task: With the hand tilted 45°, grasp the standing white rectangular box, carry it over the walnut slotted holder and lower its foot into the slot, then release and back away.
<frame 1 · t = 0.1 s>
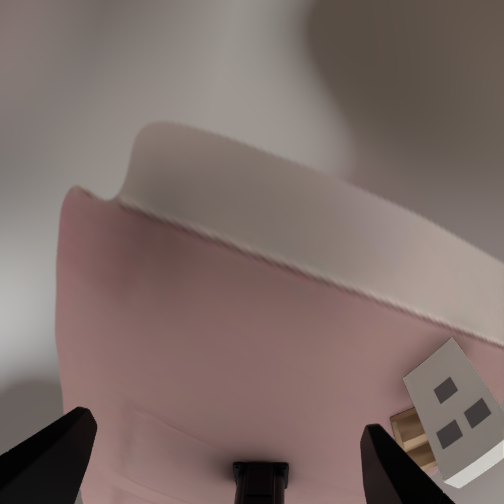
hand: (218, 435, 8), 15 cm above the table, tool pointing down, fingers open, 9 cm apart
slot holder: (431, 423, 27), on the table
white rectangular box: (435, 367, 25), on the table
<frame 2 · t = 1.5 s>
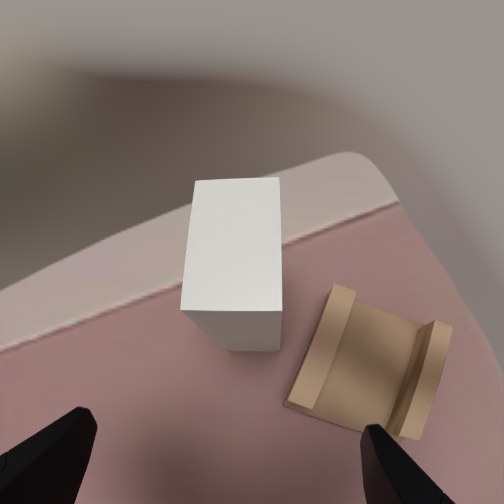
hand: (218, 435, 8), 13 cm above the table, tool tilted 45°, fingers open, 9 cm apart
slot holder: (364, 369, 21), on the table
white rectangular box: (254, 312, 24), on the table
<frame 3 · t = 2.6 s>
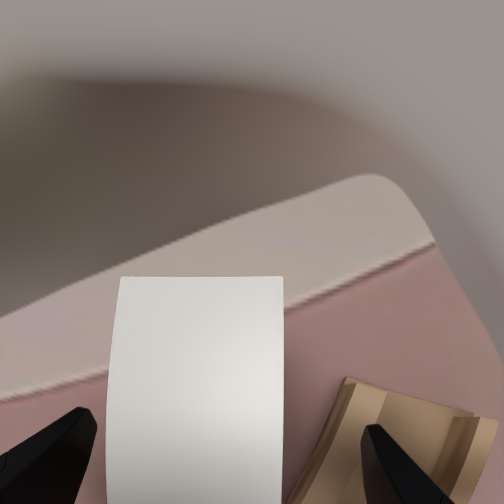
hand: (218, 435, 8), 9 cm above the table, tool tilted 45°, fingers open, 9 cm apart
slot holder: (384, 467, 14), on the table
white rectangular box: (245, 402, 16), on the table
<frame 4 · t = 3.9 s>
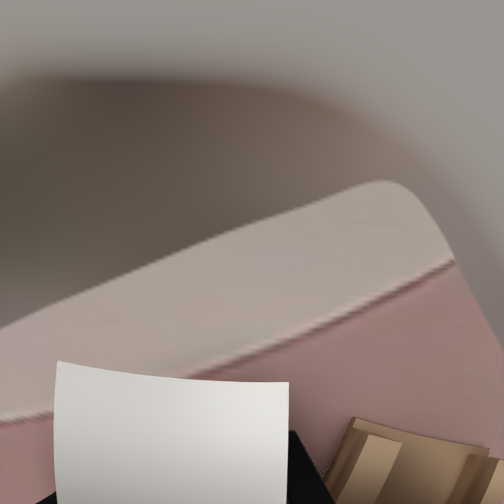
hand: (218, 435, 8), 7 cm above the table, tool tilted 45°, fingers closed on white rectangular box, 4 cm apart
white rectangular box: (241, 444, 14), on the table, touching gripper
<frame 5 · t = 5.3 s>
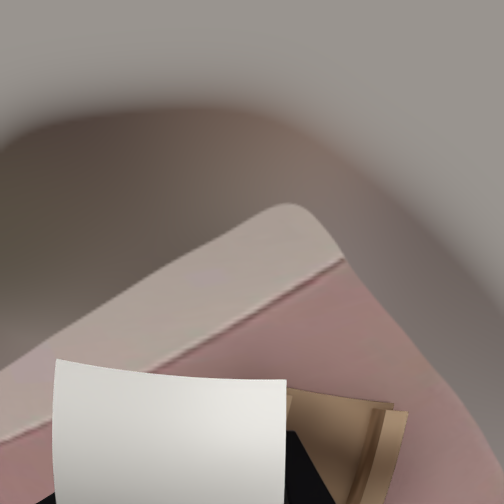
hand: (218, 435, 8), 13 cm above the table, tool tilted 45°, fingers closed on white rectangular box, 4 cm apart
slot holder: (317, 453, 19), on the table
white rectangular box: (240, 443, 14), point 7 cm above the table, touching gripper
when the fingers open (8 cm above the table, at t = 7.1 s): white rectangular box drops 1 cm, resting on slot holder.
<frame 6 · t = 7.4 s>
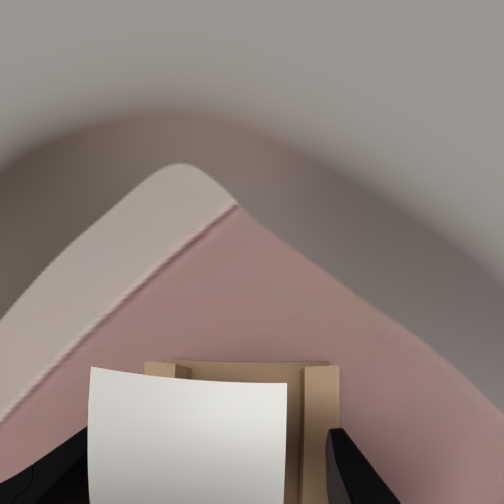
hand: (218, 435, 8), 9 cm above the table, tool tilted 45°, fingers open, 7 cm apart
slot holder: (245, 438, 16), on the table
white rectangular box: (243, 439, 15), point 1 cm above the table, touching slot holder
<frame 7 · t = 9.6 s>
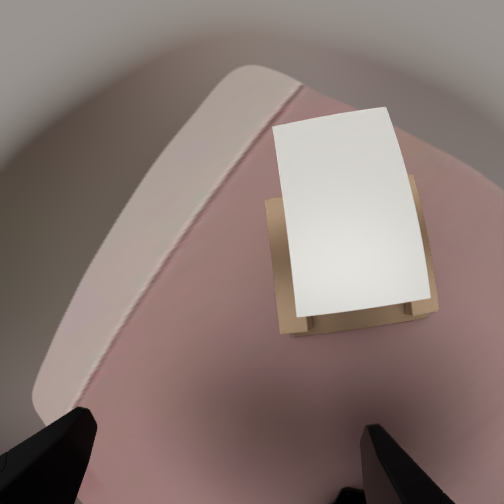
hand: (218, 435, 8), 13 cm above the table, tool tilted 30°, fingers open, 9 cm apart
slot holder: (351, 261, 21), on the table
white rectangular box: (351, 258, 20), point 1 cm above the table, touching slot holder
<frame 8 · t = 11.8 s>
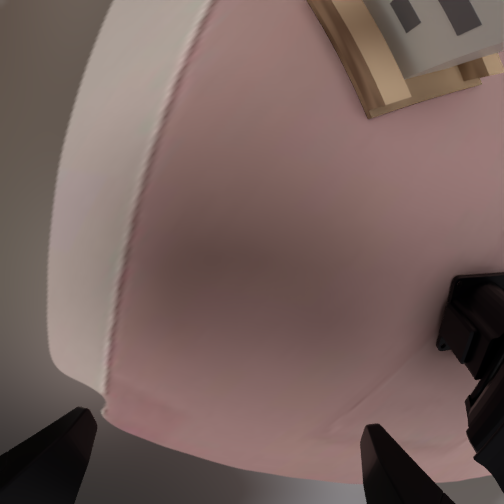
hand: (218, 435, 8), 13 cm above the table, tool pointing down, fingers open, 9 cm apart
slot holder: (398, 36, 15), on the table
white rectangular box: (403, 31, 14), point 1 cm above the table, touching slot holder
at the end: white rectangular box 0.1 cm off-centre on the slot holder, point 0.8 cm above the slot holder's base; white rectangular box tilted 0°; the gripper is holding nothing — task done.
